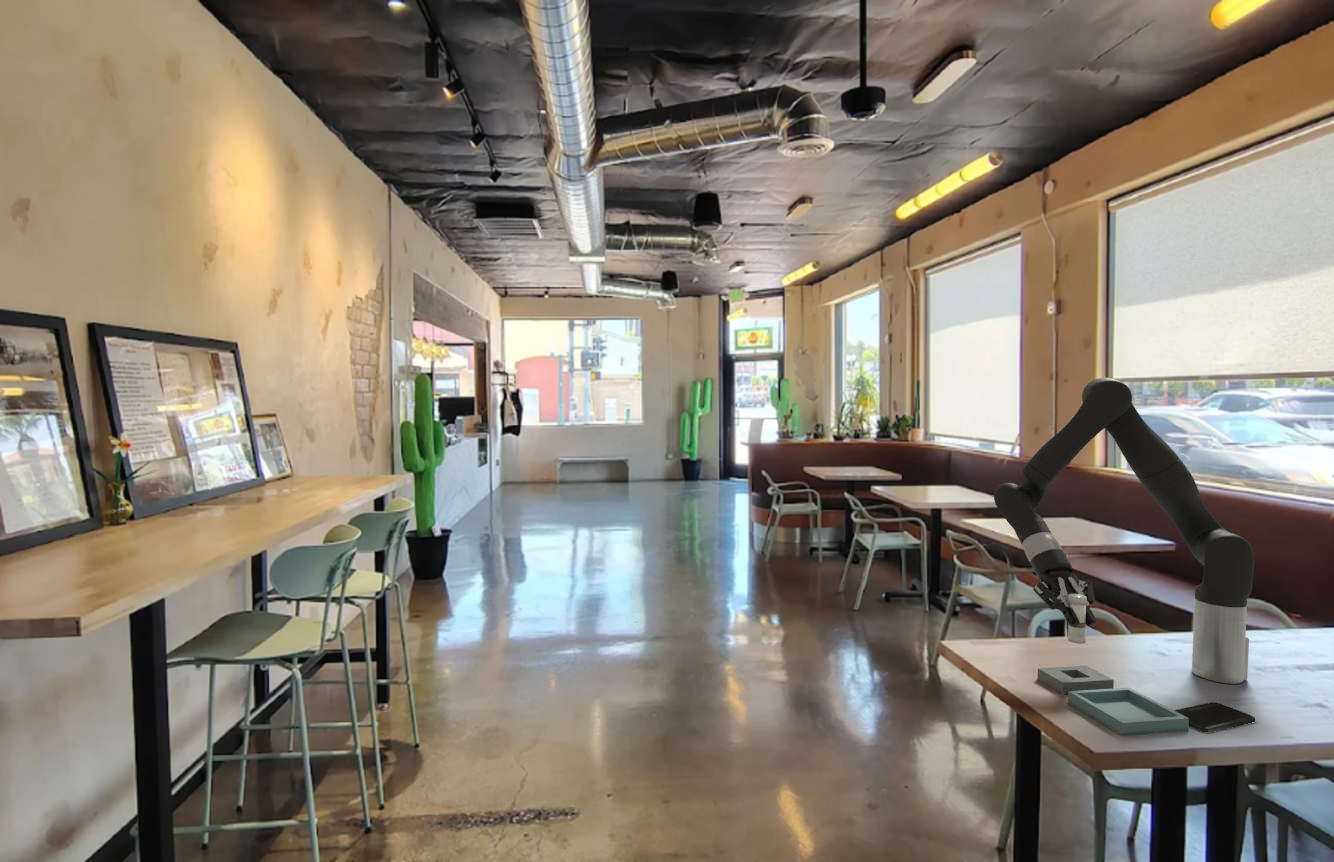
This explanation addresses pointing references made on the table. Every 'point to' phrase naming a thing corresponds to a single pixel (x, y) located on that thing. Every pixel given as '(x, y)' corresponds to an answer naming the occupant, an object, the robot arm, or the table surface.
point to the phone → (1214, 717)
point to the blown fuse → (1079, 608)
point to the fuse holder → (1074, 678)
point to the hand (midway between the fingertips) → (1084, 624)
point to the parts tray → (1128, 711)
